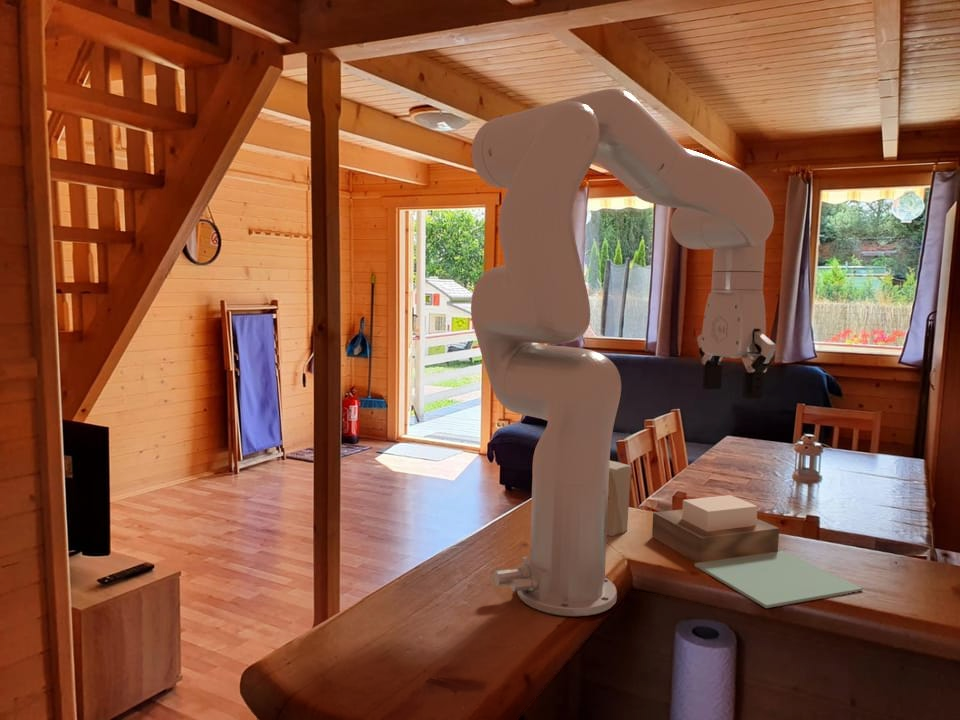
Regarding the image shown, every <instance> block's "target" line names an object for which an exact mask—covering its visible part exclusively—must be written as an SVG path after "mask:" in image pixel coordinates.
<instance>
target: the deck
mask: <svg viewBox="0 0 960 720" xmlns="http://www.w3.org/2000/svg"><path fill="white" fill-rule="evenodd" d="M779 537H780V528H779V527H778V526H776V525H772V524H770V523H769V522H766V521H764V520H762V519H759V518H757V524H756V526H749V527H741V528H733V529H725V530H717V531H709V532H707V531H705V530H703V529H701V528H699V527H697V526H695V525H693V524H691V523H689V522H687V521H685V520H683V519H682V508H681V509H675V510H674V509H673V510H665V511H655V512H653V513H652V531H651V538H653V539H655V540H656V541H658V542H660V543H661V544H662V545H665V546H667V547H668V548H670V549H672V550H674V551H676V552H677V553H679V554H680V555H682V556H685V558H687V559H689V560H691V561H693V562H694V563H700V562H707V561H714V560H722V559H729V558H736V557H743V556H750V555H757V554H764V553H771V552H778V551H779V540H780V538H779Z"/></svg>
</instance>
